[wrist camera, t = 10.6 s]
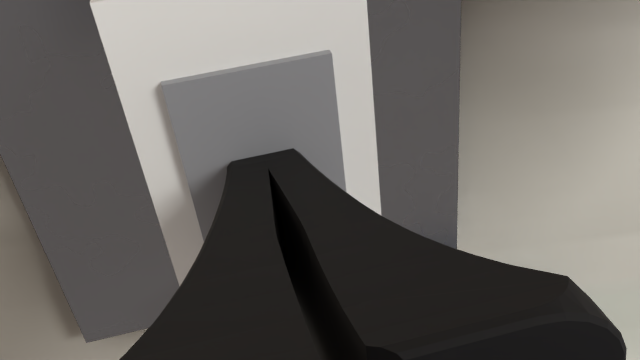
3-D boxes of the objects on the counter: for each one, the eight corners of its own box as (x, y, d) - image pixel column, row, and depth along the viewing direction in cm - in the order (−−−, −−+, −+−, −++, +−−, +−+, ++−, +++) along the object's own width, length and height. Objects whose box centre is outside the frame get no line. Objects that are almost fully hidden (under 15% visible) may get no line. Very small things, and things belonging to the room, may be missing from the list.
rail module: (295, -95, 15) (366, -41, 10) (328, 175, 20) (390, 308, 14) (112, -66, 15) (88, 6, 9) (188, 205, 19) (200, 355, 14)
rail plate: (453, -351, 14) (519, -385, 12) (448, 241, 24) (484, 295, 22) (-184, -285, 13) (-275, -308, 10) (88, 326, 22) (79, 397, 20)
